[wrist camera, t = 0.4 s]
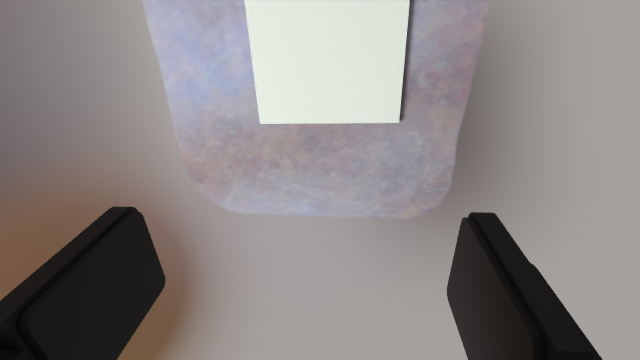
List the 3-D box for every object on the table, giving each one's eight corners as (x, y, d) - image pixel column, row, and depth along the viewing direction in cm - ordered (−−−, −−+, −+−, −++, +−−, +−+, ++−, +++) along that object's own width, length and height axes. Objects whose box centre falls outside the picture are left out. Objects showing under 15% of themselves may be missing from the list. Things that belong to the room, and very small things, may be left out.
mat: (241, -41, 30) (239, -42, 30) (412, -50, 29) (414, -51, 28) (261, 122, 38) (260, 123, 37) (398, 121, 37) (399, 122, 36)
